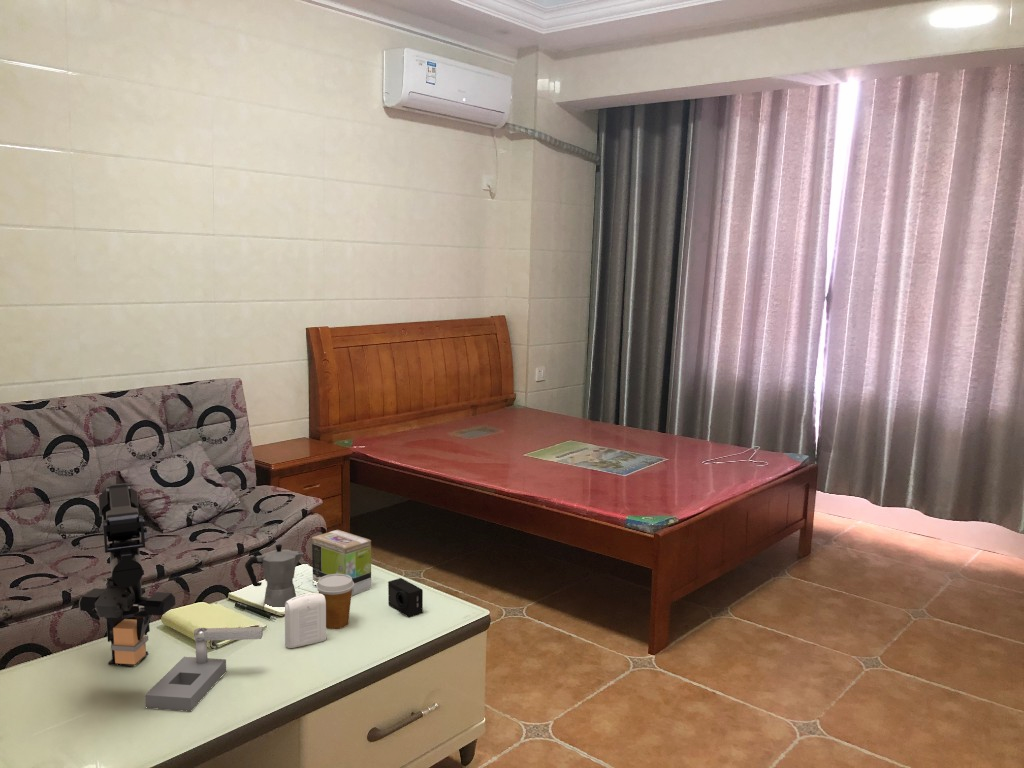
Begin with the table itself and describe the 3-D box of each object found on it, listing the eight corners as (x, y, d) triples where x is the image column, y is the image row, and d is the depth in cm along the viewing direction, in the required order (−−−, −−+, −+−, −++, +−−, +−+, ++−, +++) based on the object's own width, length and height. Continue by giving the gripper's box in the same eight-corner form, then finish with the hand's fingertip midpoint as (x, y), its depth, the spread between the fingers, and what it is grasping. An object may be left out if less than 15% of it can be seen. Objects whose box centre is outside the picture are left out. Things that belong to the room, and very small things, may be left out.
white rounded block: (322, 634, 211) (321, 587, 209) (329, 640, 208) (328, 593, 206) (282, 644, 206) (281, 596, 204) (288, 651, 202) (287, 602, 200)
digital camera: (384, 606, 229) (384, 582, 228) (401, 601, 232) (400, 577, 231) (405, 619, 221) (405, 594, 220) (422, 613, 224) (422, 589, 223)
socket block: (145, 708, 176) (143, 671, 175) (184, 668, 193) (183, 635, 191) (191, 711, 175) (189, 674, 174) (226, 671, 192) (225, 637, 191)
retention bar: (260, 639, 189) (260, 631, 189) (192, 641, 188) (192, 633, 188) (263, 634, 192) (263, 626, 192) (196, 636, 191) (195, 627, 190)
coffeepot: (301, 597, 233) (299, 535, 230) (309, 610, 225) (307, 546, 222) (243, 607, 226) (241, 543, 223) (250, 621, 218) (247, 555, 215)
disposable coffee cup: (362, 622, 219) (361, 578, 217) (336, 635, 211) (335, 590, 209) (335, 613, 224) (334, 570, 222) (309, 626, 216) (308, 581, 214)
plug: (111, 664, 178) (109, 628, 177) (125, 652, 184) (123, 617, 182) (135, 665, 178) (133, 630, 177) (149, 653, 183) (147, 619, 182)
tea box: (372, 588, 240) (372, 539, 238) (345, 599, 233) (344, 548, 230) (338, 575, 250) (338, 527, 248) (311, 585, 242) (310, 536, 240)
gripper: (60, 582, 171) (65, 654, 173) (147, 587, 169) (151, 659, 171) (92, 562, 182) (96, 630, 184) (175, 567, 180) (178, 635, 182)
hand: (129, 639), depth 180 cm, fingers closed on plug, 4 cm apart
